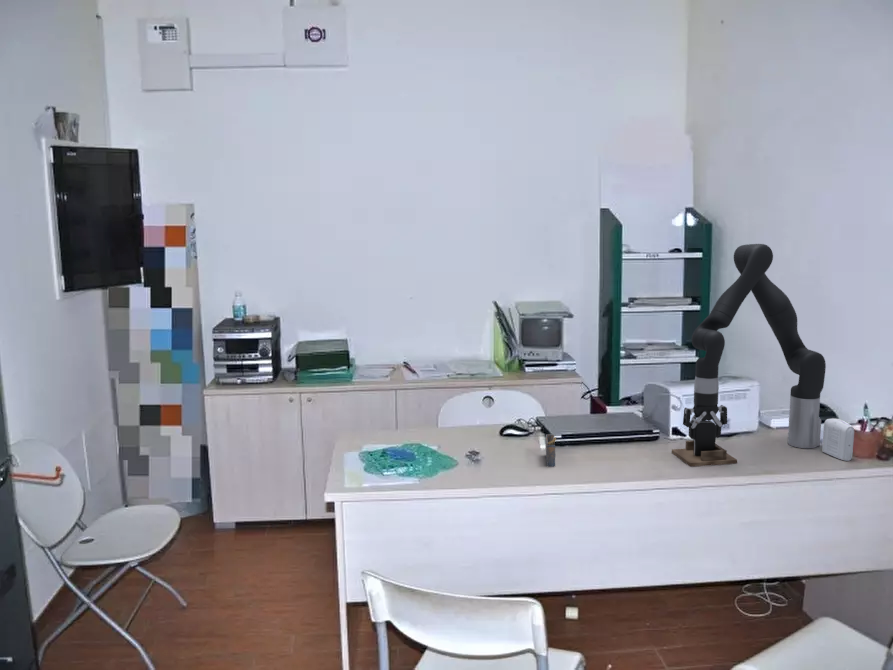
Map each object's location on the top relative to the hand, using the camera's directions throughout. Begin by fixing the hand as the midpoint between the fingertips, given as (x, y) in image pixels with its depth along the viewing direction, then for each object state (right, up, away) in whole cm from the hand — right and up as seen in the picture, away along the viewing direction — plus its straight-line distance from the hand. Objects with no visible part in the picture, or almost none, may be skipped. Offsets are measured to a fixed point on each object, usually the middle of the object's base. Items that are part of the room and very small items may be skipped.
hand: (704, 437), depth 254 cm
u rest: (0, -7, +1) cm, 7 cm away
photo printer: (+44, -6, 0) cm, 44 cm away
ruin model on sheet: (-50, -9, +2) cm, 51 cm away
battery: (0, -6, +1) cm, 6 cm away
